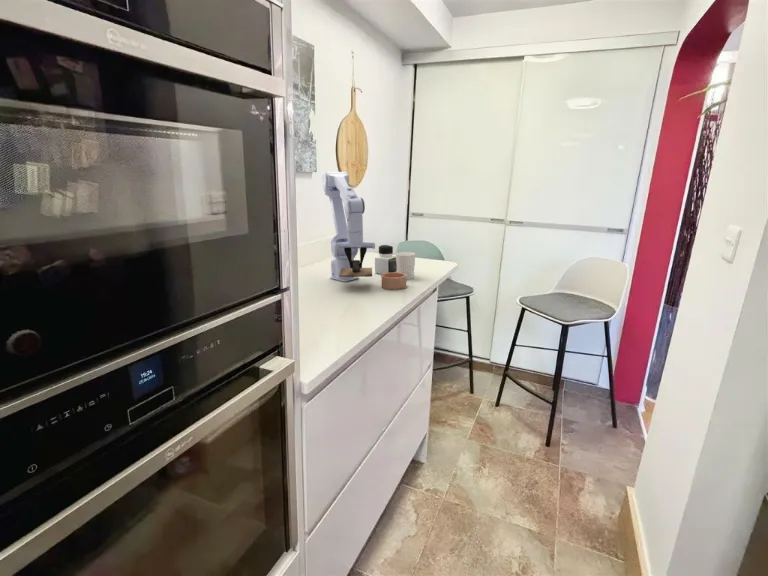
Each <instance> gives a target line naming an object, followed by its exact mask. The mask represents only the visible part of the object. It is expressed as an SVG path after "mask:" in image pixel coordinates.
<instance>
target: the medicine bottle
mask: <svg viewBox="0 0 768 576" xmlns="http://www.w3.org/2000/svg"><path fill="white" fill-rule="evenodd" d="M393 251H394V247H393V245H390V244H382V245H379V246H378V255H377V256H375V257H374V273H375V274H376V273H378V274H379V275H381V274H385V273H392V272H397V265H396V255H394V252H393Z"/></svg>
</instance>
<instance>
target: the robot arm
mask: <svg viewBox="0 0 768 576" xmlns="http://www.w3.org/2000/svg"><path fill="white" fill-rule="evenodd" d="M349 177H350V176H349V173H348V172H347V171H324V172H323V174H322V177H321V178H322V186H323V192H324V195H326V196H327V197H329V202H330V207H331V213H332V217H333V218H332V219H333V223H334V228H335V235H334V236H333V237H332V238H331V241H330V245H331V247H330V248H331V249H330V250H331V255H332V256H333V258H332V259H331V262H330V269H331V273H330V274H331V276H330V277H329V279H331V280H336V281H341V282H345V283H347V282H350V281H353V280H358V279H360V277H339V275H340V271H341V268H352V261H353V260H355V258H356V256H357V255H358V252H359V260H360V268H363V262H364V258H365V255H366V254H367V249H373V250H374V249H376V242H365V241H364V228H363V227H364V225H363V223H364V222H363V218H364V217H363V214H365V209H366V204H365V200H364V197H359V196H358V195H357V193H356V192H355V190H354V189H353V188H352V187H350V186H349V184H350V178H349Z"/></svg>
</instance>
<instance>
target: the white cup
mask: <svg viewBox="0 0 768 576" xmlns="http://www.w3.org/2000/svg"><path fill="white" fill-rule="evenodd" d="M395 256H396V265H397V272H399V273H404V274H406V280H411V279H413V278H414V276H415V265H416V253H415V252H410V251H401V252H396V253H395Z"/></svg>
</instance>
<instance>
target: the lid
mask: <svg viewBox="0 0 768 576" xmlns="http://www.w3.org/2000/svg"><path fill="white" fill-rule="evenodd" d="M339 277H359V278H364V277H365V278H366V277H367V278H369V277H373V267H362V268H360V259H359V260H358V259H354V260H353V261H352V268H341V271H340V275H339Z"/></svg>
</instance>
